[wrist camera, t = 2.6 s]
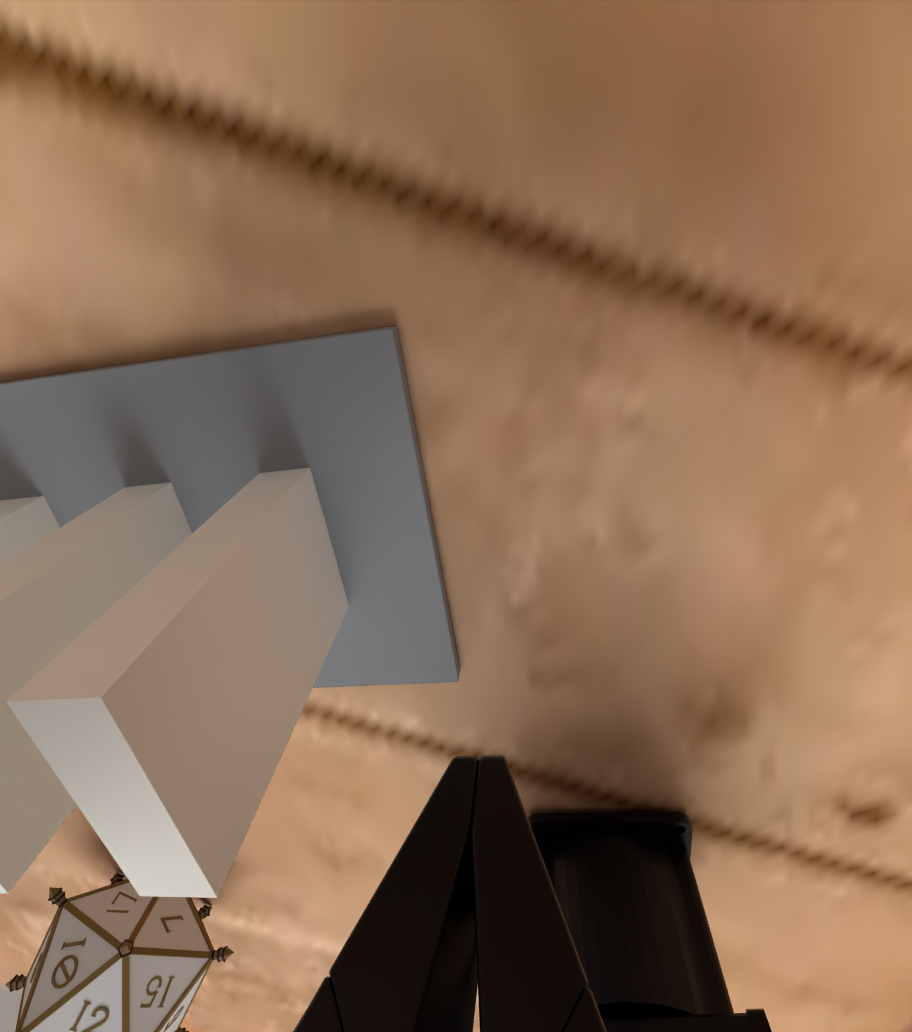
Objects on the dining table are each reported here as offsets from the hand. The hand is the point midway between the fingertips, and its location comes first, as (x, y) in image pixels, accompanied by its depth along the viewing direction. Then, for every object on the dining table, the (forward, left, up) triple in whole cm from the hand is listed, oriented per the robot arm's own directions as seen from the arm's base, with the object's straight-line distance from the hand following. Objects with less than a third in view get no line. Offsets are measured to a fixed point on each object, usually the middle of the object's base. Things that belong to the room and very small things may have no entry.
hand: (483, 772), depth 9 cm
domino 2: (+6, 0, -8) cm, 10 cm away
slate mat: (+15, 0, -9) cm, 17 cm away
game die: (+19, +19, -9) cm, 28 cm away
